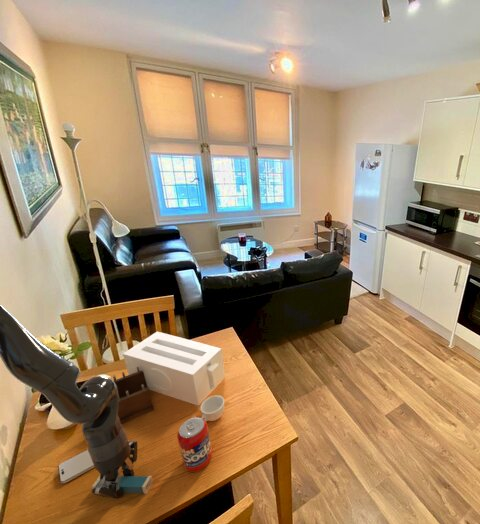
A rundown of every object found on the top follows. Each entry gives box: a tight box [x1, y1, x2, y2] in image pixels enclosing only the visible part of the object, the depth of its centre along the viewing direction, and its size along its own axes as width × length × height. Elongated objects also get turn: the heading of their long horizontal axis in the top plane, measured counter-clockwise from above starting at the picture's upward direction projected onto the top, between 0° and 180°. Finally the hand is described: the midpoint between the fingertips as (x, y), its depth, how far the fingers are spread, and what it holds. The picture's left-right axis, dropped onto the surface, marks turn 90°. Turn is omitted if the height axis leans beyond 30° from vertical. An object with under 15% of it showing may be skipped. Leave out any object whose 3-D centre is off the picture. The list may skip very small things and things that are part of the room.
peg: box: [91, 475, 154, 495], centre depth 80 cm, size 3×14×3 cm, turn 92°
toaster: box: [122, 331, 226, 406], centre depth 114 cm, size 35×16×15 cm, turn 74°
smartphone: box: [57, 449, 95, 484], centre depth 87 cm, size 7×1×15 cm
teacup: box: [200, 394, 226, 422], centre depth 102 cm, size 10×8×5 cm
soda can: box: [177, 416, 213, 473], centre depth 86 cm, size 8×8×15 cm
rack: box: [112, 367, 155, 425], centre depth 102 cm, size 14×14×11 cm
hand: (124, 487), depth 81 cm, fingers open, 3 cm apart
